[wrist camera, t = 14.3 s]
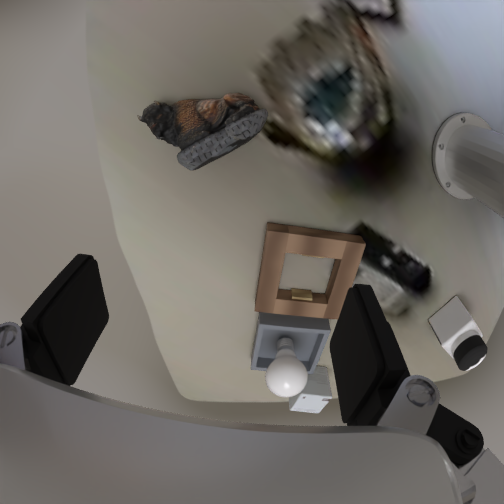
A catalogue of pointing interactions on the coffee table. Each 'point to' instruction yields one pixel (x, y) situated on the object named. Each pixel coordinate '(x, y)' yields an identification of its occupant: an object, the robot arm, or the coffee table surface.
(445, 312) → the medicine bottle
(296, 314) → the socket collar
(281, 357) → the lightbulb
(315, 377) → the skincare box
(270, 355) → the tray
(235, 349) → the coffee table surface
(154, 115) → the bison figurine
